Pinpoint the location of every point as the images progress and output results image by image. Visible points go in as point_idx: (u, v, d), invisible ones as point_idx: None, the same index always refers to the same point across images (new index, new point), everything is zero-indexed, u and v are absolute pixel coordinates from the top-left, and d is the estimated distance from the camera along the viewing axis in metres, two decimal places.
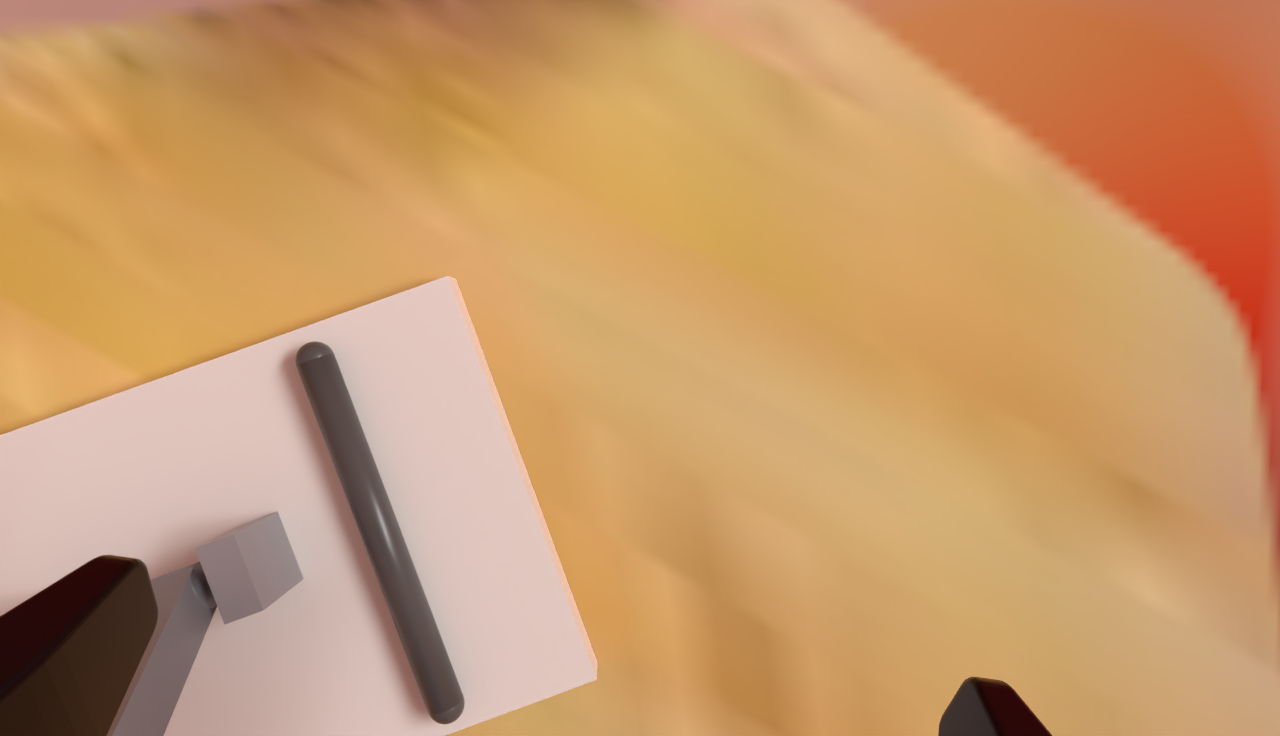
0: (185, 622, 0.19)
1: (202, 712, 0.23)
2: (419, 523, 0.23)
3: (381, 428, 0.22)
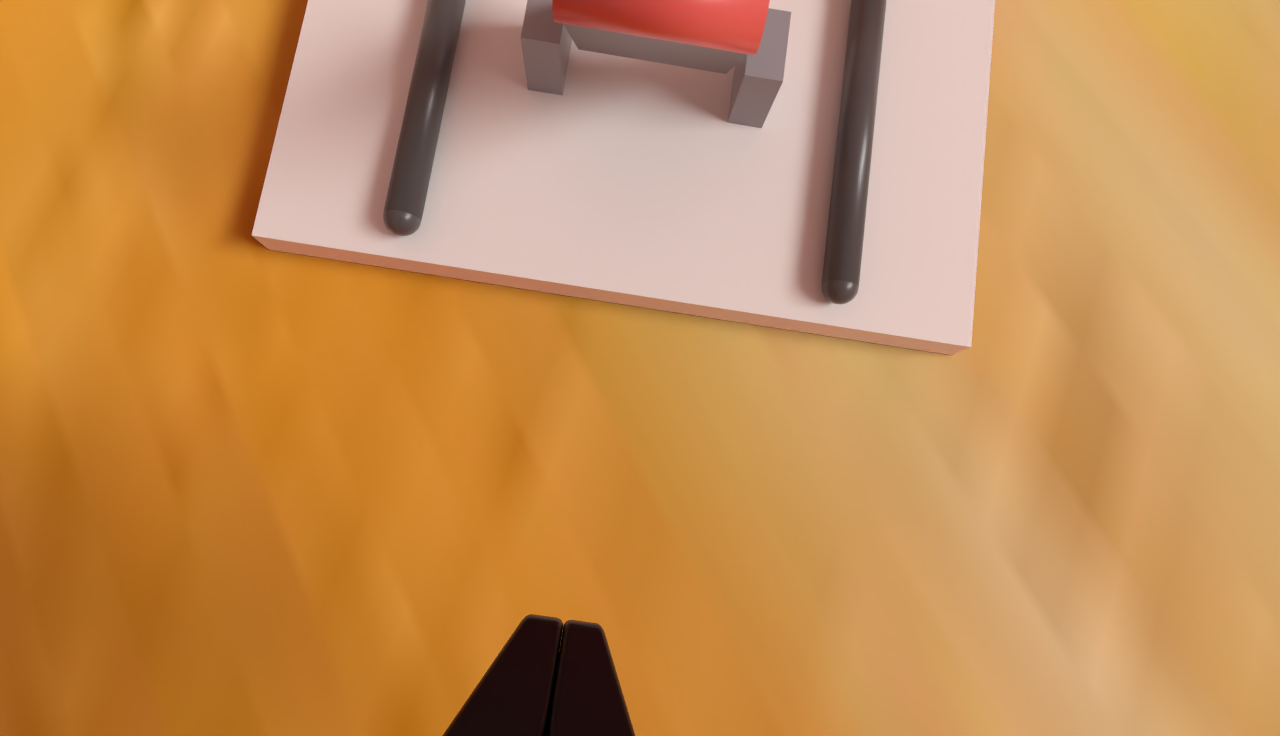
0: None
1: (614, 189, 0.23)
2: (881, 136, 0.24)
3: (887, 49, 0.24)
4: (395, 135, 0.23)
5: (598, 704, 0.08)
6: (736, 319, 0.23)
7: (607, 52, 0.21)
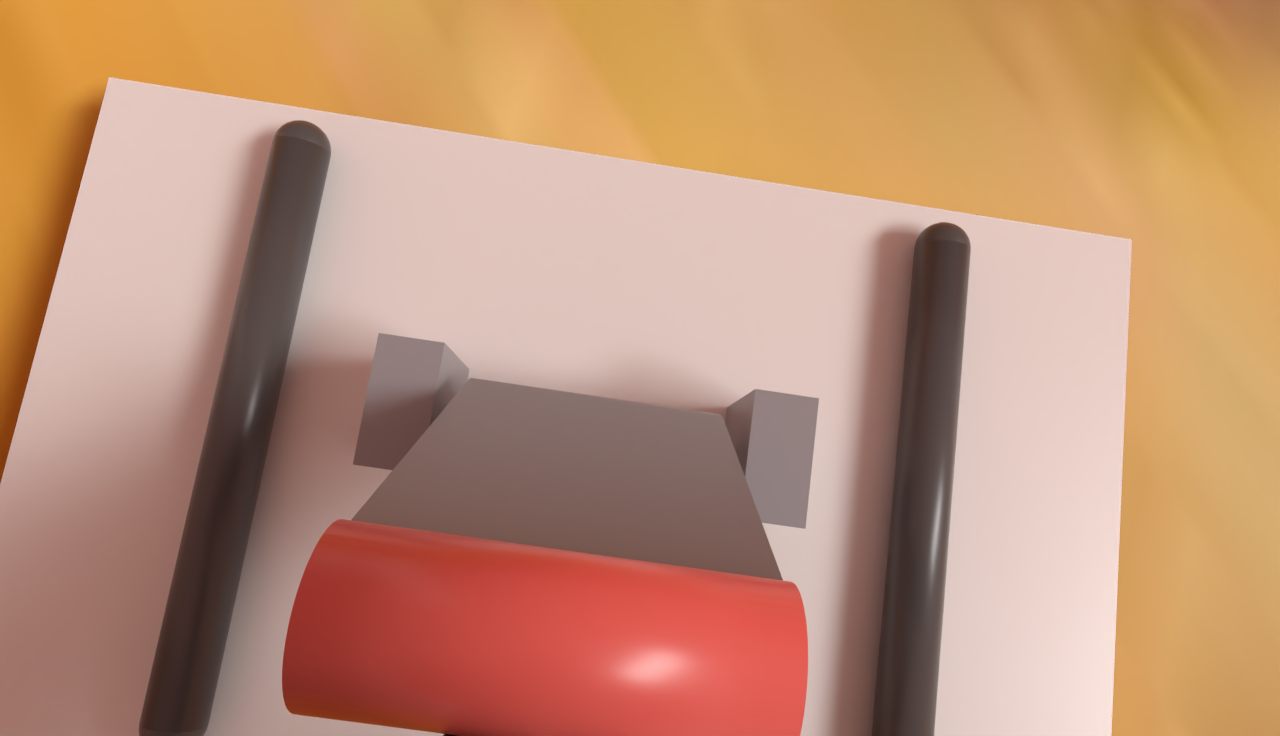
0: None
1: None
2: (957, 530, 0.15)
3: (964, 380, 0.15)
4: (175, 558, 0.14)
5: None
6: None
7: None
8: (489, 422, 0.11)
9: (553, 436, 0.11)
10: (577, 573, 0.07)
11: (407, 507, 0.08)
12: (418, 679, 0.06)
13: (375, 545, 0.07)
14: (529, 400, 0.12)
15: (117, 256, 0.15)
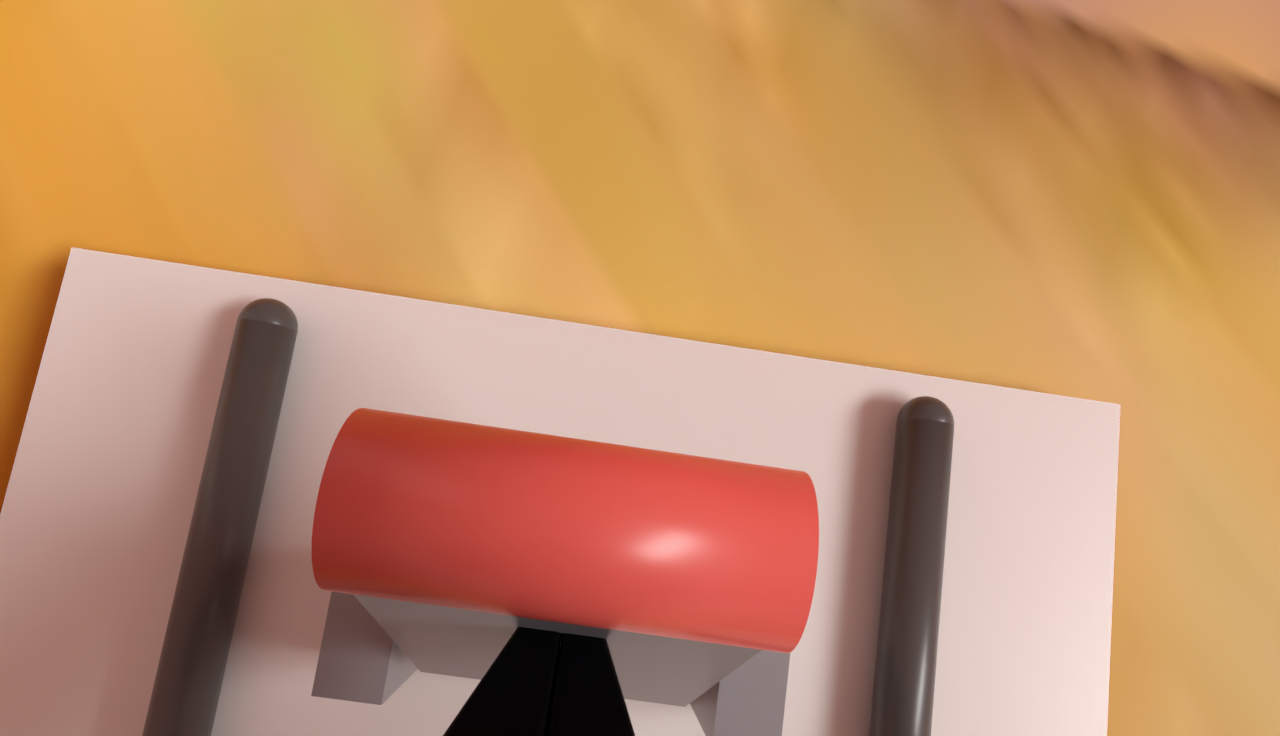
0: None
1: None
2: (940, 716, 0.15)
3: (948, 556, 0.15)
4: None
5: (598, 704, 0.08)
6: None
7: (472, 674, 0.12)
8: None
9: None
10: None
11: None
12: (455, 476, 0.07)
13: None
14: None
15: (78, 436, 0.14)
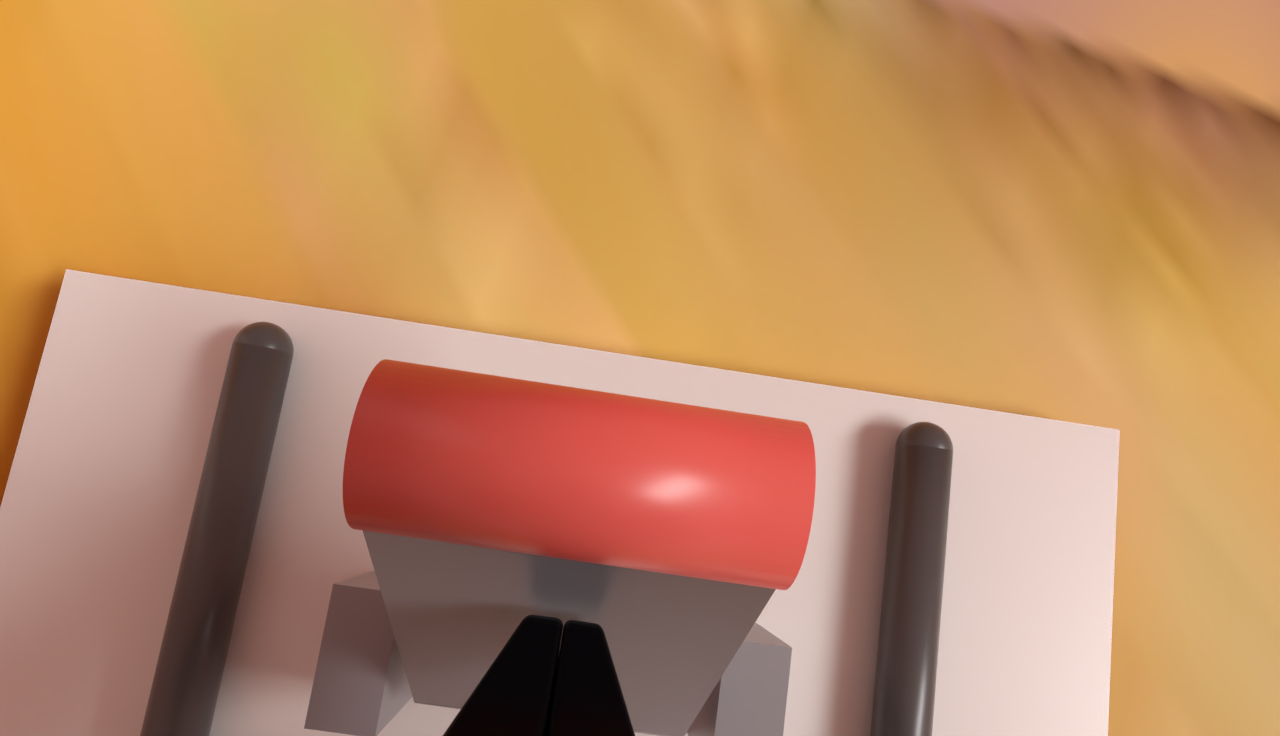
0: None
1: None
2: None
3: (946, 582, 0.15)
4: None
5: (598, 704, 0.08)
6: None
7: None
8: None
9: None
10: None
11: None
12: (480, 404, 0.07)
13: None
14: None
15: (71, 460, 0.14)
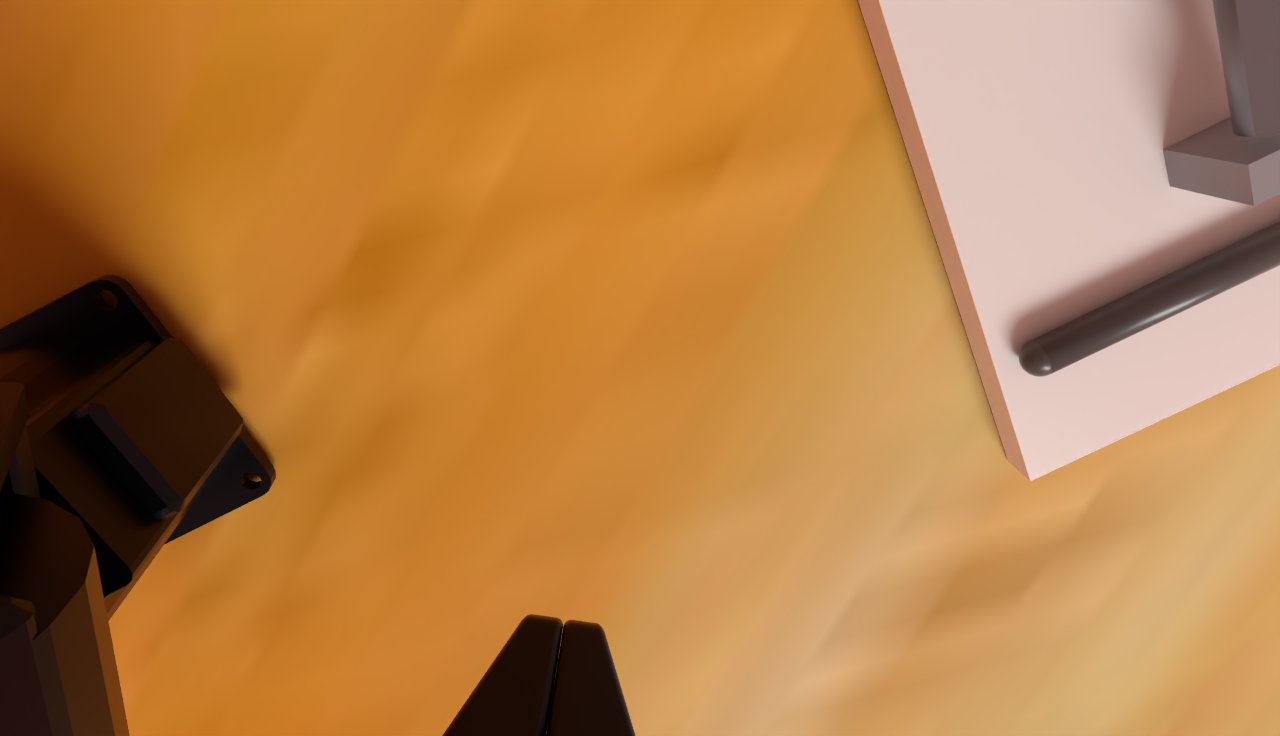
0: None
1: (1039, 84, 0.19)
2: None
3: None
4: None
5: (598, 704, 0.08)
6: (952, 277, 0.22)
7: None
8: None
9: None
10: None
11: None
12: None
13: None
14: None
15: None
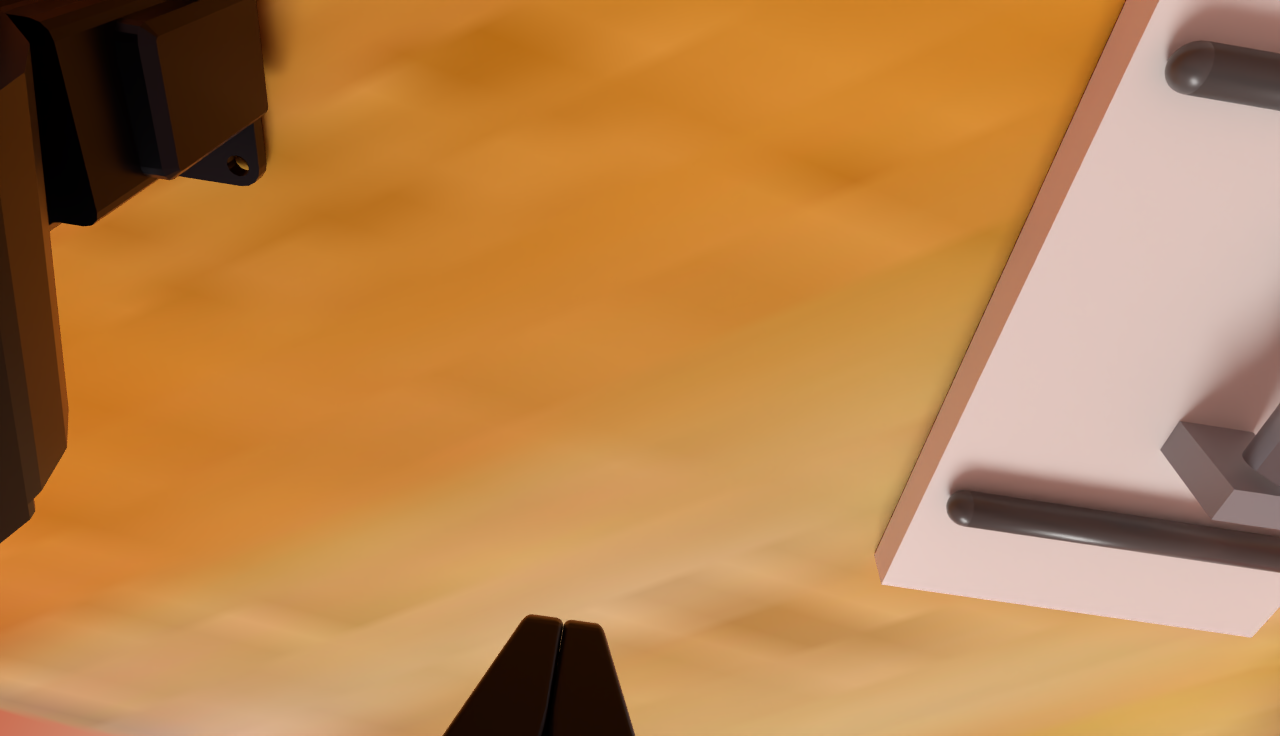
0: None
1: (1140, 310, 0.19)
2: None
3: None
4: None
5: (598, 704, 0.08)
6: (949, 401, 0.22)
7: None
8: None
9: None
10: None
11: None
12: None
13: None
14: None
15: None
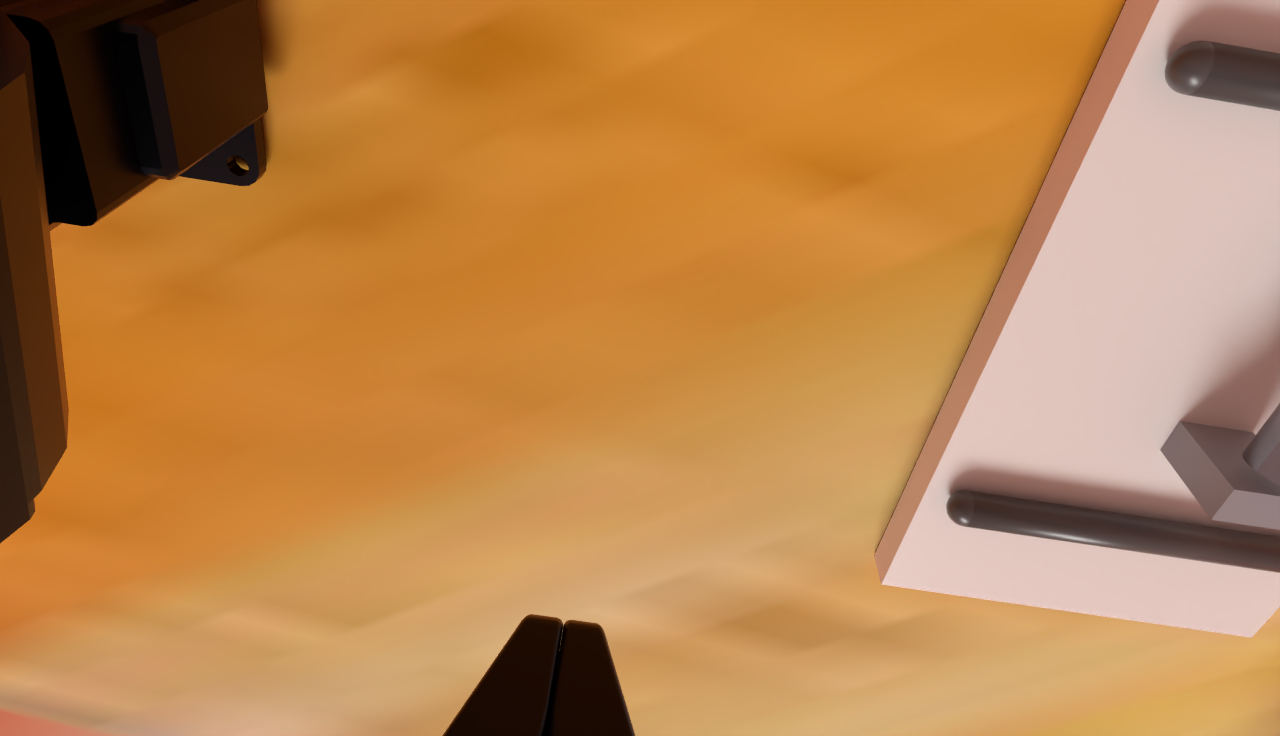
0: None
1: (1140, 310, 0.19)
2: None
3: None
4: None
5: (598, 704, 0.08)
6: (949, 401, 0.22)
7: None
8: None
9: None
10: None
11: None
12: None
13: None
14: None
15: None
